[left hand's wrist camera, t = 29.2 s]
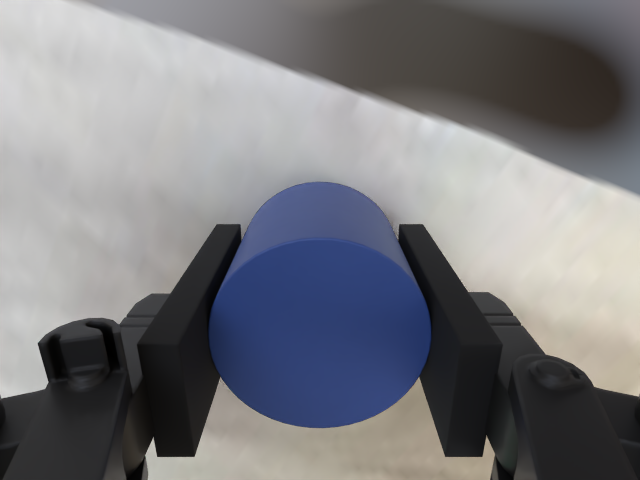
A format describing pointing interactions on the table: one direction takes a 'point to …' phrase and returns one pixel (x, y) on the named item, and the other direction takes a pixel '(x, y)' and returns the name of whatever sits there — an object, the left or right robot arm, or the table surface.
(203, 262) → the left robot arm
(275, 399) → the canister
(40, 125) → the table surface
